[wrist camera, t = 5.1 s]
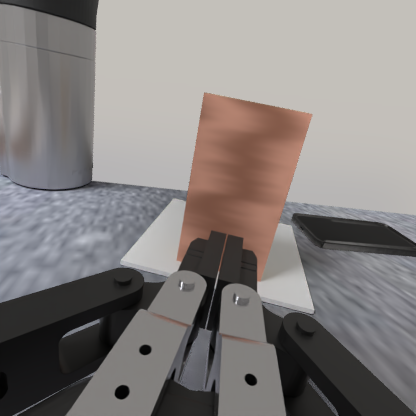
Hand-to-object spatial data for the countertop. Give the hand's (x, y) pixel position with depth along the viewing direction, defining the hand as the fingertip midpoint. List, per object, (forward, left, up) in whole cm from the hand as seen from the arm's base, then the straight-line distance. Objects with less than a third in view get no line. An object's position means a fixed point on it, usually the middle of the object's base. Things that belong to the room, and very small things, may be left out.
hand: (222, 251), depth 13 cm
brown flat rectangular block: (0, +9, -7) cm, 11 cm away
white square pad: (0, +14, -7) cm, 15 cm away
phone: (+16, +24, -8) cm, 30 cm away
